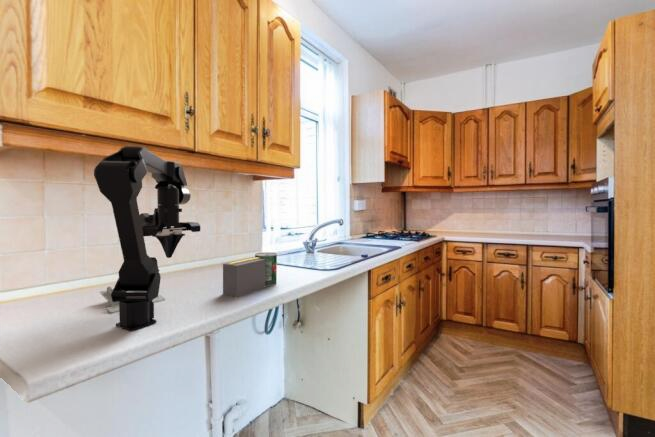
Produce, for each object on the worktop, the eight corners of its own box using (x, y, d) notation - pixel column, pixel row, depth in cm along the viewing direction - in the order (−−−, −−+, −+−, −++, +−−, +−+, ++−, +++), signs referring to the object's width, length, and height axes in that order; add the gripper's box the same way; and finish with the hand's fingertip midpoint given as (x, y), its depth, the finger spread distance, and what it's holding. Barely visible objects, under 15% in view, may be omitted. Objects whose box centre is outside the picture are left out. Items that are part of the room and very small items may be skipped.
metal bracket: (90, 286, 93) (144, 276, 106) (88, 304, 94) (141, 292, 107) (114, 309, 86) (168, 296, 98) (111, 328, 87) (165, 313, 100)
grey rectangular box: (236, 297, 104) (236, 264, 103) (222, 294, 107) (222, 262, 106) (265, 287, 116) (265, 258, 115) (252, 285, 119) (252, 256, 118)
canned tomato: (250, 283, 121) (250, 253, 121) (269, 280, 126) (269, 251, 126) (261, 287, 115) (261, 256, 115) (280, 284, 120) (280, 254, 120)
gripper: (178, 204, 109) (178, 251, 110) (119, 204, 92) (120, 259, 93) (201, 205, 103) (201, 254, 104) (143, 205, 87) (144, 263, 88)
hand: (168, 257), depth 98 cm, fingers closed
